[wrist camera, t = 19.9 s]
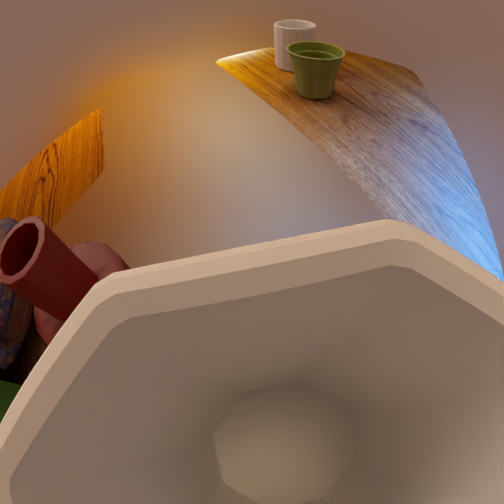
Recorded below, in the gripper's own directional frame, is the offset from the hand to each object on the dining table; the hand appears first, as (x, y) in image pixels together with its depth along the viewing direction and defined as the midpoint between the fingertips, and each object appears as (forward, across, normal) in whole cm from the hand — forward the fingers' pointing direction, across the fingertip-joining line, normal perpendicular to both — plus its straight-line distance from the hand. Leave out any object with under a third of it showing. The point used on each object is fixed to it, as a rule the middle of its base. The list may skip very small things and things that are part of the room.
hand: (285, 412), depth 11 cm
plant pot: (+41, +12, +24) cm, 49 cm away
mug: (+51, +12, +34) cm, 63 cm away
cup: (+4, 0, -8) cm, 9 cm away
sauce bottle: (+13, -11, -4) cm, 17 cm away
